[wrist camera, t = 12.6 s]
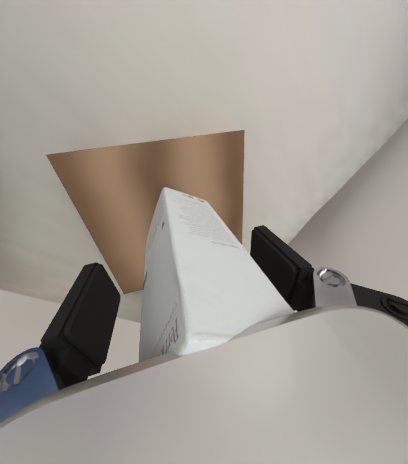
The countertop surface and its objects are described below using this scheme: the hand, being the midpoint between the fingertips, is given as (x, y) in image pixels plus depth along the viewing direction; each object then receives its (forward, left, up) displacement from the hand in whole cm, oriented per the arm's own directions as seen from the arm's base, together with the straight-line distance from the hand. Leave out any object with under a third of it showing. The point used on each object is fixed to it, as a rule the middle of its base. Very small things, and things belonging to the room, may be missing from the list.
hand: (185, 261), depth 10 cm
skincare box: (0, 0, -6) cm, 6 cm away
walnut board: (0, 0, -9) cm, 9 cm away
